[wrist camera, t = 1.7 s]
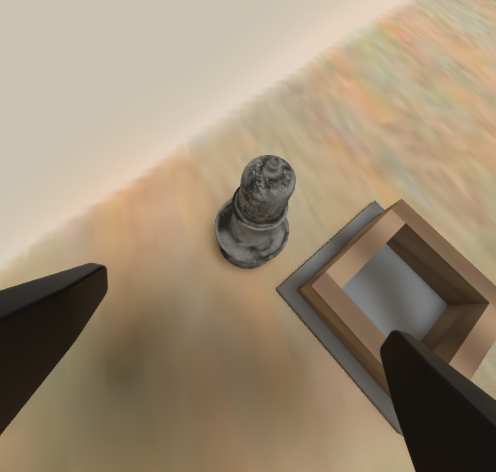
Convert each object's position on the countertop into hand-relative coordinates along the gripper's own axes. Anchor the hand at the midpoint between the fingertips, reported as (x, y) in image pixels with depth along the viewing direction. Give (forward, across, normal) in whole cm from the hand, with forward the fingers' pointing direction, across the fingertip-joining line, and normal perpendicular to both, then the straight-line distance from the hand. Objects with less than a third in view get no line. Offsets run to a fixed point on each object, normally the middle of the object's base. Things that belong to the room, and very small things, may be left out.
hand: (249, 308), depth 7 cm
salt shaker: (+14, 0, +5) cm, 15 cm away
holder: (+12, -13, +6) cm, 19 cm away
